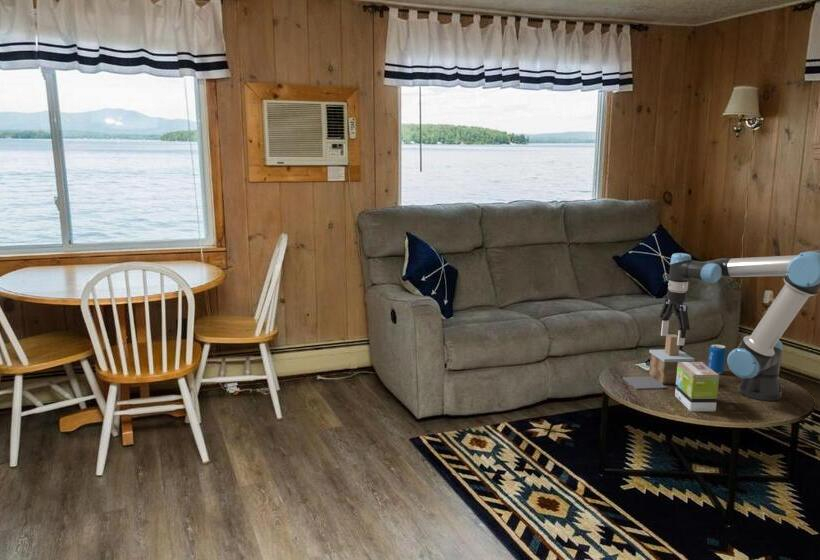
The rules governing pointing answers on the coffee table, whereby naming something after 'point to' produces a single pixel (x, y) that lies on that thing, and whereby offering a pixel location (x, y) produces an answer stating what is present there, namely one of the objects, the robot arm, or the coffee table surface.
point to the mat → (644, 382)
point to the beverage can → (717, 358)
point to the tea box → (697, 386)
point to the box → (663, 370)
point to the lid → (671, 351)
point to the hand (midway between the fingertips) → (672, 340)
